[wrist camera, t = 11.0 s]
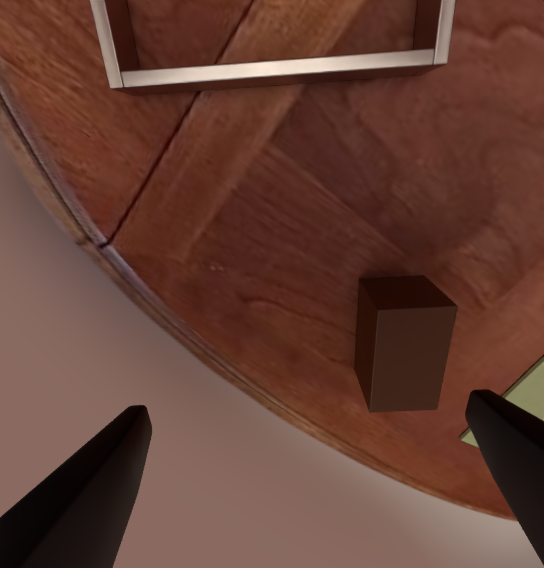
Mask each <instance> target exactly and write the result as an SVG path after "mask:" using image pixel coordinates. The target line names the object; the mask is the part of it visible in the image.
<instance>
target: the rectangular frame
mask: <svg viewBox="0 0 544 568" xmlns="http://www.w3.org/2000/svg"><path fill="white" fill-rule="evenodd" d="M90 4H91V8H92V13H93V17H94V21H95V26H96V30H97V34H98V39H99V43H100V47H101V52H102V56H103V60H104V65H105V69H106V73H107V78H108V82H109V86H110V88H111V89H114V90H117V91H120V92H123V93H127V94H130V95H133V96H135V95H144V94H145V95H148V94H162V93H176V92H190V91H204V90H218V89H232V88H246V87H260V86H274V85H288V84H302V83H316V82H331V81H345V80H359V79H373V78H387V77H401V76H410V75H411V76H415V75H423V74H425V73H427V72H430V71H432V70H434V69H437V68H439V67H441V66H444V65H446V64H447V62H448V55H449V48H450V40H451V33H452V26H453V18H454V11H455V4H456V0H418V4H417V14H416V24H415V34H414V44H413V50H402V51H389V52H375V53H362V54H348V55H335V56H321V57H307V58H294V59H280V60H267V61H253V62H240V63H226V64H213V65H199V66H185V67H172V68H158V69H145V70H140V69H139V64H138V59H137V54H136V48H135V43H134V38H133V33H132V28H131V23H130V17H129V12H128V7H127V2H126V0H90Z"/></svg>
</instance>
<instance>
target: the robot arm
mask: <svg viewBox="0 0 544 568" xmlns="http://www.w3.org/2000/svg"><path fill="white" fill-rule="evenodd" d="M465 416H466V420H467V423H468V425H469V427H470V429H471V431H472V433H473V436H474V438H475V440H476V442H477V444H478V446H479V449H480V451H481V453H482V455H483V457H484V460H485V462H486V464H487V466H488V468H489V470H490V472H491V474H492V476H493V478H494V480H495V482H496V484H497V485H498V487H499V489H500V491H501V492H502V494H503V496H504V498H505V499H506V501H507V503H508V505H509V506H510V508H511V510H512V511H513V513H514V515H515V517H516V518H517V520H518V522H519V524H520V525H521V527H522V529H523V530H524V532H525V534H526V536H527V537H528V539H529V541H530V543H531V544H532V546H533V548H534V549H535V551H536V553H537V555H538V556H539V558H540V560H541V561H542V563H543V565H544V421H543V420H541V419H540V418H538V417H536V416H534V415H533V414H531V413H529V412H527V411H526V410H524V409H522V408H520V407H519V406H517V405H515V404H513V403H512V402H510V401H508V400H506V399H505V398H503V397H501V396H499V395H498V394H496V393H494V392H492V391H490V390H487V389H482V390H473V391H472V392H471V393H470V396H469V400H468V404H467V408H466V412H465ZM151 436H152V425H151V421H150V418H149V414H148V411H147V408H146V406H144V405H135V406H134V405H133V406H130V407H128V408H127V409H125V410H124V411H123V412H122V413H121V414H120V415H118V416H117V417H116V418H115V419H114V420H113V421H111V422H110V423H109V424H108V425H107V426H106V427H105V428H103V429H102V430H101V431H100V432H99V433H98V434H96V435H95V436H94V437H93V438H92V439H91V440H90V441H88V442H87V443H86V444H85V445H84V446H82V447H81V448H80V449H79V450H78V451H77V452H75V453H74V454H73V455H72V456H71V457H70V458H69V459H67V460H66V461H65V462H64V463H63V464H62V465H60V466H59V467H58V468H57V469H56V470H55V471H53V472H52V473H51V474H50V475H49V476H48V477H46V478H45V479H44V480H43V481H42V482H41V483H40V484H38V485H37V486H36V487H35V488H34V489H33V490H31V491H30V492H29V493H28V494H27V495H26V496H25V497H23V498H22V499H21V500H20V501H19V502H17V503H16V504H15V505H14V506H13V507H12V508H11V509H9V510H8V511H7V512H6V513H5V514H3V515H2V516H1V517H0V568H113V564H114V561H115V559H116V556H117V553H118V550H119V547H120V544H121V541H122V538H123V535H124V532H125V529H126V527H127V524H128V521H129V518H130V515H131V512H132V509H133V506H134V503H135V500H136V497H137V494H138V490H139V486H140V482H141V478H142V474H143V470H144V465H145V461H146V457H147V453H148V449H149V444H150V440H151Z"/></svg>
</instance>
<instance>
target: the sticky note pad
mask: <svg viewBox="0 0 544 568" xmlns="http://www.w3.org/2000/svg"><path fill="white" fill-rule="evenodd" d="M501 397H503V398H505V399H506V400H508V401H510V402H512V403H513V404H515V405H517V406H519V407H520V408H522V409H524V410H526V411H527V412H529V413H531V414H533V415H534V416H536V417H538V418H540V419H541V420H543V421H544V356H543V357H542V358H541V359H540V360H539V361H538V362H537V363H536V364H535V365H534V366H533V367H532V368H530V369H529V370H528V371H527V372H526V373H525V374H524V375H523V376H522V377H521V378H520V379H519V380H518V381H517V382H516V383H515V384H514V385H513V386H512V387H511V388H510V389H509V390H508V391H507V392H506V393H505V394H504V395H503V396H501ZM459 438H460V439H461V440H462V441H464V442H466V443H469V444H471V445H474V446H476V447H479V446H478V444H477V442H476V440H475V438H474V436H473V433H472V431H471V429H470V427H469V428H468V429H467V430H466V431H465V432H464V433H463V434H462V435H461V436H460V437H459Z"/></svg>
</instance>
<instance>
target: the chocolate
mask: <svg viewBox="0 0 544 568" xmlns="http://www.w3.org/2000/svg"><path fill="white" fill-rule="evenodd" d="M456 312H457V305H456V304H455V303H454V302H453V301H451V300H450V299H449V298H448V297H447V296H446V295H445V294H444V293H443V292H442V291H440V290H439V289H438V288H437V287H436V286H435V285H434V284H433V283H432V282H431V281H429V280H428V279H427V278H426V277H425V276H408V277H389V278H371V279H359V293H358V311H357V329H356V348H355V366H354V370H355V372H356V375H357V378H358V381H359V384H360V387H361V389H362V392H363V395H364V398H365V401H366V404H367V407H368V409H369V412H393V411H416V410H437V407H438V402H439V397H440V392H441V387H442V382H443V377H444V372H445V367H446V362H447V357H448V352H449V347H450V342H451V337H452V332H453V327H454V322H455V317H456Z"/></svg>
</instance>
